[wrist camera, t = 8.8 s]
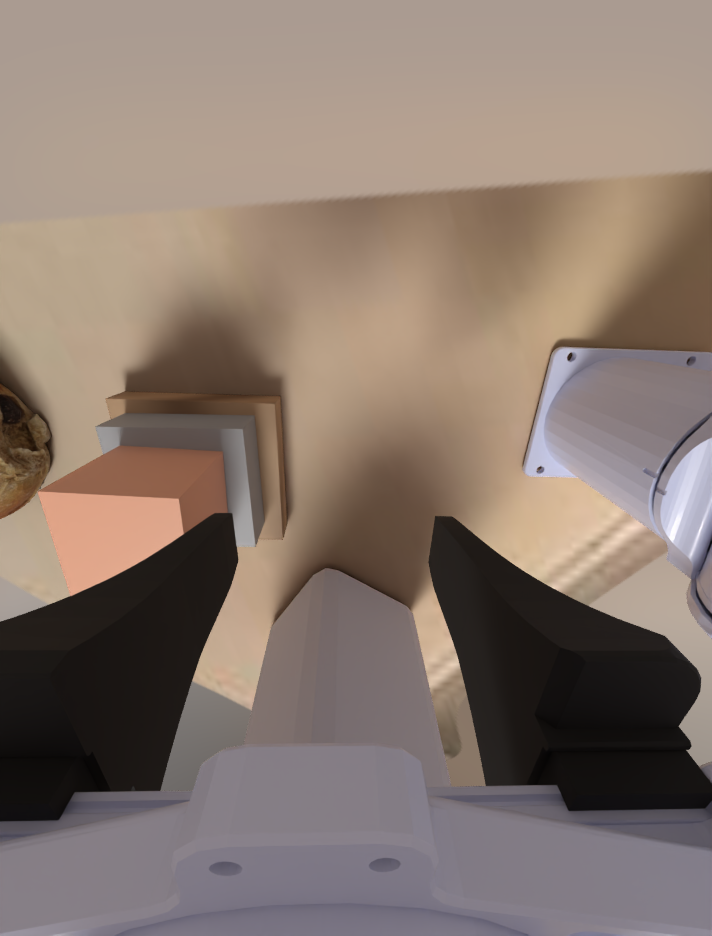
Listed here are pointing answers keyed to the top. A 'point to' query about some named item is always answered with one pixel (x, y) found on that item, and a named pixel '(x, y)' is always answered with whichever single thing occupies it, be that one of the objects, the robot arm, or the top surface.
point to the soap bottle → (347, 675)
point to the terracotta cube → (129, 508)
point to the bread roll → (20, 453)
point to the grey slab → (209, 435)
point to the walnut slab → (221, 404)
